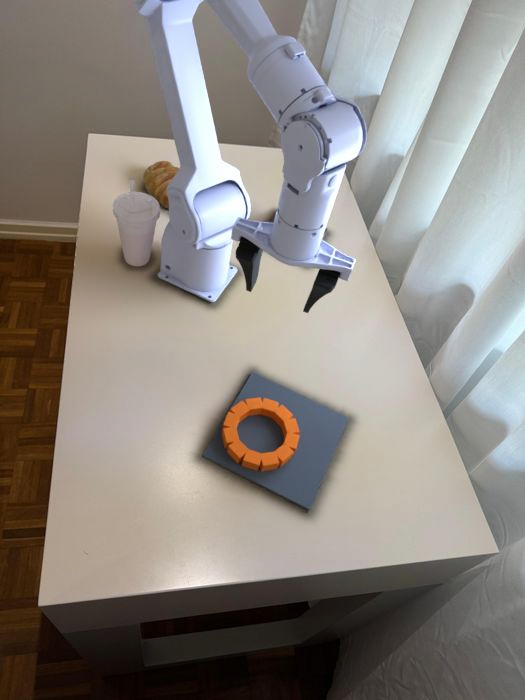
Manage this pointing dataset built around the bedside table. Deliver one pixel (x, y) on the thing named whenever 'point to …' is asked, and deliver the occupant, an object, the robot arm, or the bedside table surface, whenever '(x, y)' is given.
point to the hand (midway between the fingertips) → (279, 296)
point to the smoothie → (136, 224)
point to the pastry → (159, 180)
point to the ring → (251, 457)
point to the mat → (267, 436)
